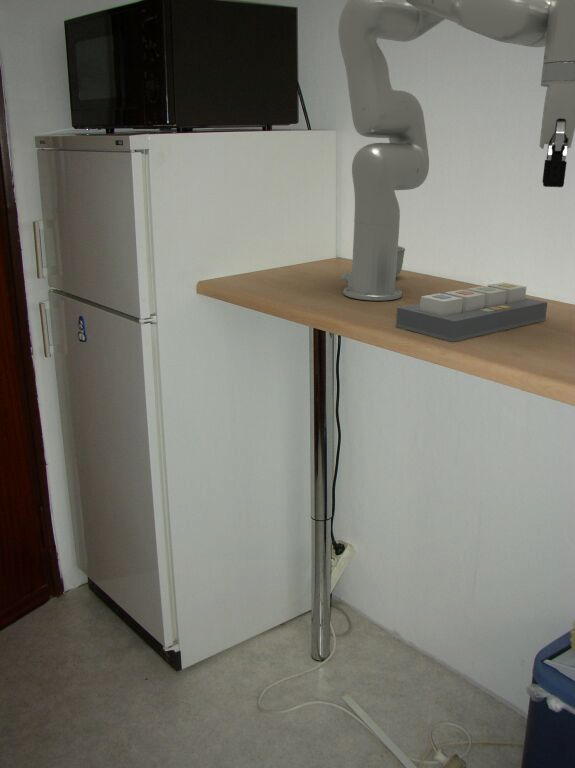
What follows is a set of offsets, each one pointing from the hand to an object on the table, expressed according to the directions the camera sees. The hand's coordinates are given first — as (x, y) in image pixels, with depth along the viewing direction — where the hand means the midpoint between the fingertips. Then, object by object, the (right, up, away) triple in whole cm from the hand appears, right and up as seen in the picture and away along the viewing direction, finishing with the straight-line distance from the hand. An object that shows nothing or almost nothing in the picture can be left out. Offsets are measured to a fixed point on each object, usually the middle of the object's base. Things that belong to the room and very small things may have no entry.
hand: (552, 185), depth 129 cm
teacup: (-23, -8, +57) cm, 62 cm away
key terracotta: (-12, -20, +11) cm, 26 cm away
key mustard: (-2, -18, +19) cm, 26 cm away
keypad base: (-10, -22, +14) cm, 28 cm away
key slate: (-17, -21, +7) cm, 28 cm away
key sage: (-7, -19, +15) cm, 25 cm away
